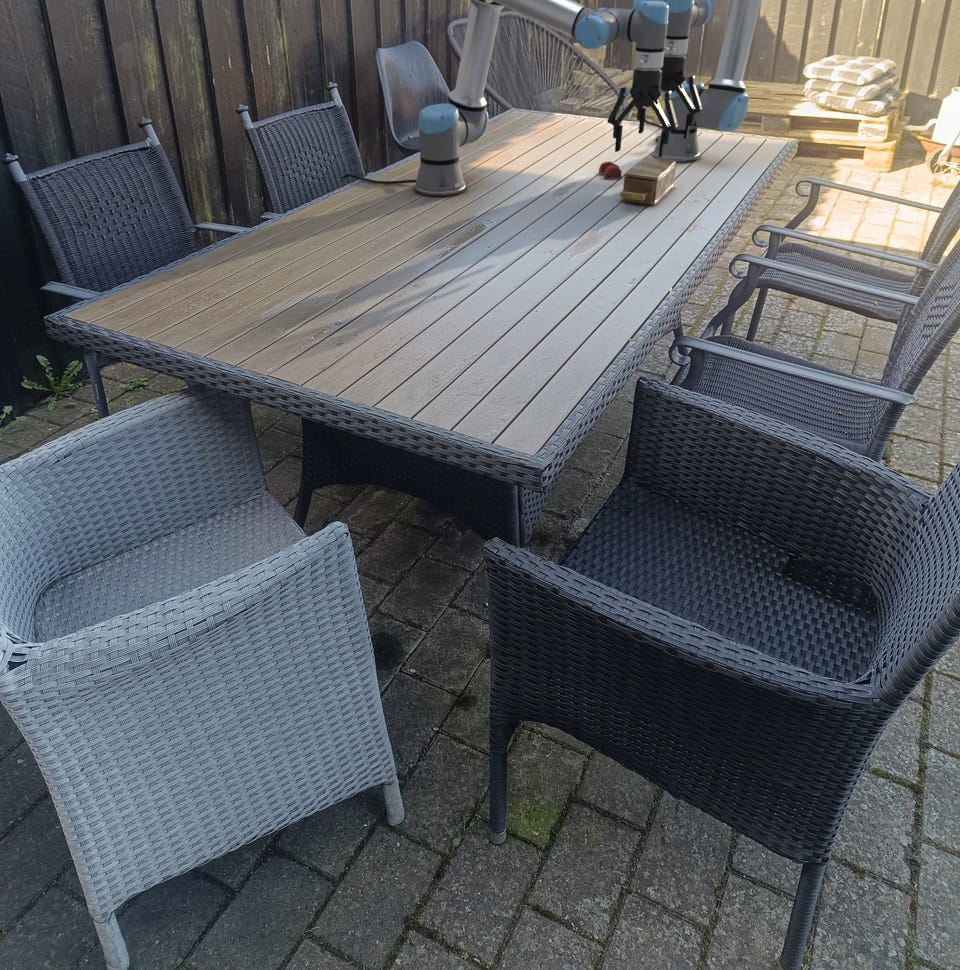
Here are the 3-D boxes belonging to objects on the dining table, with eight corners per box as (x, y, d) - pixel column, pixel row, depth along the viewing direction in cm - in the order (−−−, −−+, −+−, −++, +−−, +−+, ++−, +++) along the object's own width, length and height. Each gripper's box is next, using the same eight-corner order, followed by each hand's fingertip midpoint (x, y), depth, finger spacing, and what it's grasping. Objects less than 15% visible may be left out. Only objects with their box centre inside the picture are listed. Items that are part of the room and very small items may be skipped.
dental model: (614, 158, 272) (623, 164, 265) (613, 171, 274) (622, 178, 268) (597, 159, 271) (606, 166, 264) (597, 173, 273) (606, 180, 267)
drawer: (645, 209, 240) (647, 187, 237) (616, 204, 243) (618, 183, 240) (668, 187, 257) (671, 166, 254) (640, 183, 260) (643, 163, 257)
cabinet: (654, 205, 246) (657, 177, 241) (621, 201, 249) (624, 173, 245) (672, 187, 260) (676, 160, 255) (641, 183, 264) (644, 157, 259)
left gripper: (600, 67, 225) (593, 151, 237) (689, 74, 216) (678, 161, 229) (609, 62, 230) (602, 145, 243) (696, 69, 221) (685, 155, 234)
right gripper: (626, 53, 238) (618, 133, 250) (714, 60, 229) (702, 142, 241) (633, 50, 243) (626, 127, 256) (720, 56, 234) (708, 136, 247)
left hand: (639, 153), depth 236 cm, fingers open, 12 cm apart
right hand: (663, 134), depth 248 cm, fingers open, 13 cm apart
